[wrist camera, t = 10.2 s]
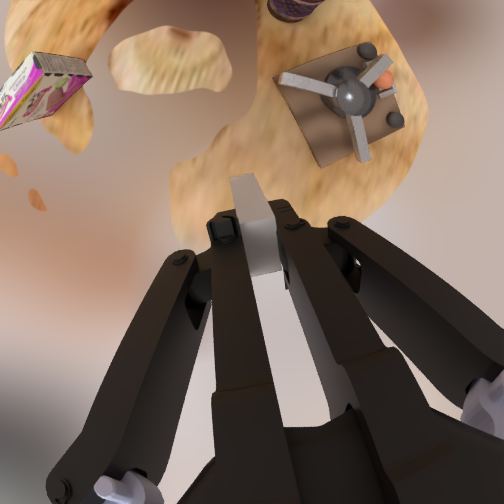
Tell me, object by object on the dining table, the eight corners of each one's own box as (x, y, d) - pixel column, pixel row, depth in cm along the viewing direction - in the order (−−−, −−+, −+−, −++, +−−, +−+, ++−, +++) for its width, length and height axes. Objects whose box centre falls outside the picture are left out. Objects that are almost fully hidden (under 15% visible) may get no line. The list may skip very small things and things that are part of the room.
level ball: (363, 71, 36) (375, 70, 32) (380, 66, 35) (392, 65, 32) (372, 91, 38) (384, 92, 34) (388, 85, 37) (401, 86, 34)
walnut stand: (272, 77, 37) (276, 76, 34) (366, 42, 34) (376, 40, 31) (318, 166, 46) (325, 171, 43) (400, 125, 43) (411, 128, 40)
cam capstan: (298, 167, 44) (314, 181, 38) (267, 77, 36) (279, 72, 29) (389, 139, 43) (415, 149, 36) (368, 56, 34) (394, 53, 27)
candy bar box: (51, 117, 33) (-5, 134, 20) (41, 98, 31) (-16, 110, 17) (95, 76, 32) (43, 74, 18) (83, 57, 29) (31, 49, 15)
